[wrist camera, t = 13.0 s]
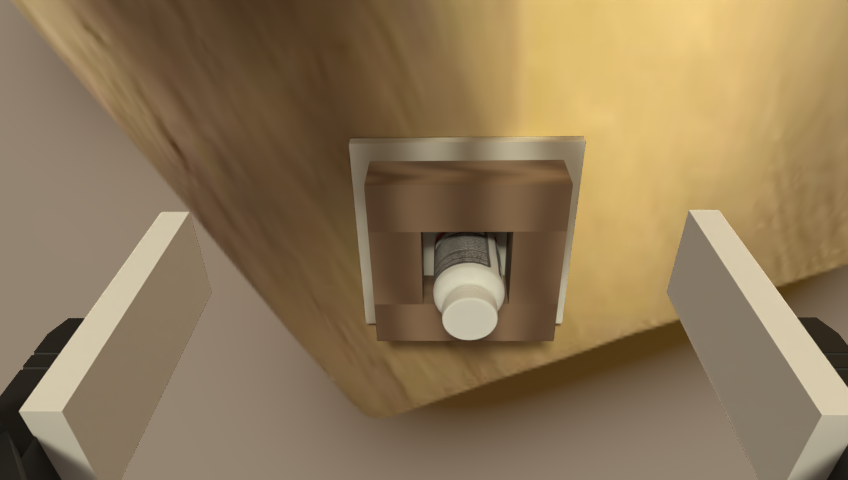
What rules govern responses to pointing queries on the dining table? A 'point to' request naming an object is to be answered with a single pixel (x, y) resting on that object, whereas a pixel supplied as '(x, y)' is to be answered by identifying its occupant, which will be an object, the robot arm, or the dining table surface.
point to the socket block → (465, 226)
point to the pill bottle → (468, 282)
